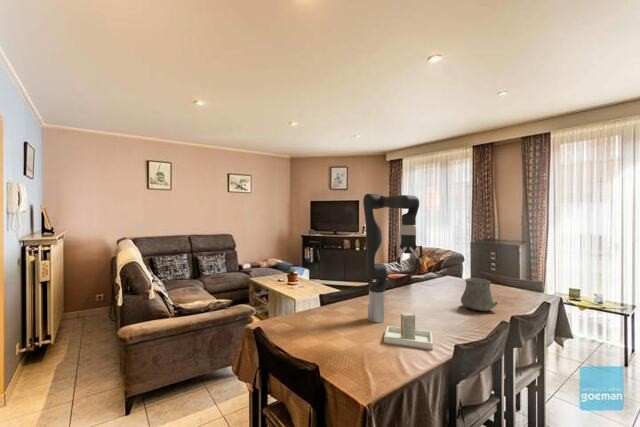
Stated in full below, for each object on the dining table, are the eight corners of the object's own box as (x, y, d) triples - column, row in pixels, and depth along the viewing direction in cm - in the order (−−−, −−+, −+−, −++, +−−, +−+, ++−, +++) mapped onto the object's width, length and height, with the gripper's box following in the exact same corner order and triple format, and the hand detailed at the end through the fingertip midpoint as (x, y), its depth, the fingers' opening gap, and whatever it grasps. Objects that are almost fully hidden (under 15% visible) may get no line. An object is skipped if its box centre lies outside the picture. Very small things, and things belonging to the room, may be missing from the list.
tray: (383, 342, 147) (384, 336, 147) (387, 331, 162) (387, 325, 162) (432, 350, 140) (432, 343, 140) (431, 337, 155) (431, 331, 155)
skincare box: (412, 337, 153) (413, 312, 153) (415, 340, 149) (415, 315, 149) (400, 336, 153) (400, 312, 153) (402, 340, 149) (402, 315, 149)
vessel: (495, 317, 190) (495, 284, 190) (457, 310, 204) (457, 280, 204) (499, 309, 207) (500, 279, 208) (464, 303, 221) (465, 275, 221)
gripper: (393, 233, 156) (393, 265, 156) (423, 234, 152) (422, 267, 151) (394, 233, 163) (394, 263, 163) (422, 234, 159) (422, 265, 159)
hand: (407, 265), depth 157 cm, fingers open, 8 cm apart
